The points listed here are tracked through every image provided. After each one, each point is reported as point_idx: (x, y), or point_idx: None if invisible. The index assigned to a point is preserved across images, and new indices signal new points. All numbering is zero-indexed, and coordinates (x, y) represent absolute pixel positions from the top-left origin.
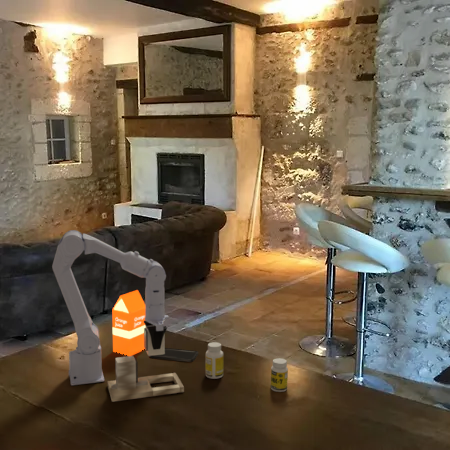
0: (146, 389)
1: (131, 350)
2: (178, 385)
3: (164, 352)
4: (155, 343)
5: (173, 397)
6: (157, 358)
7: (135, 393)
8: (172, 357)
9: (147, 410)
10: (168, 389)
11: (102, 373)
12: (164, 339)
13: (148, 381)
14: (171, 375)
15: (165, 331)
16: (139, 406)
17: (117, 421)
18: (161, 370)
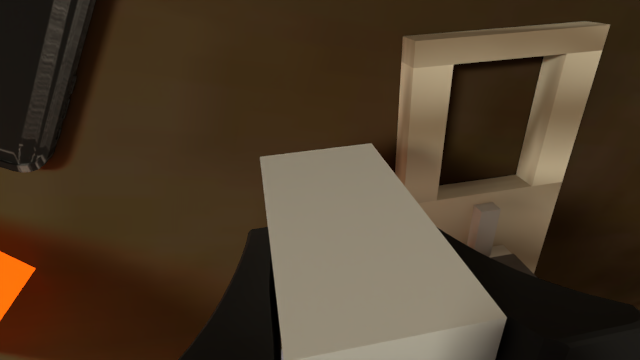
0: (535, 207)
1: (2, 285)
2: (578, 53)
3: (376, 151)
4: None
5: (603, 84)
6: (63, 114)
7: (542, 245)
8: (70, 3)
9: (630, 193)
10: (580, 111)
11: (282, 354)
12: (427, 215)
13: (463, 197)
14: (443, 74)
15: (602, 299)
16: (588, 218)
17: (631, 273)
18: (277, 108)
